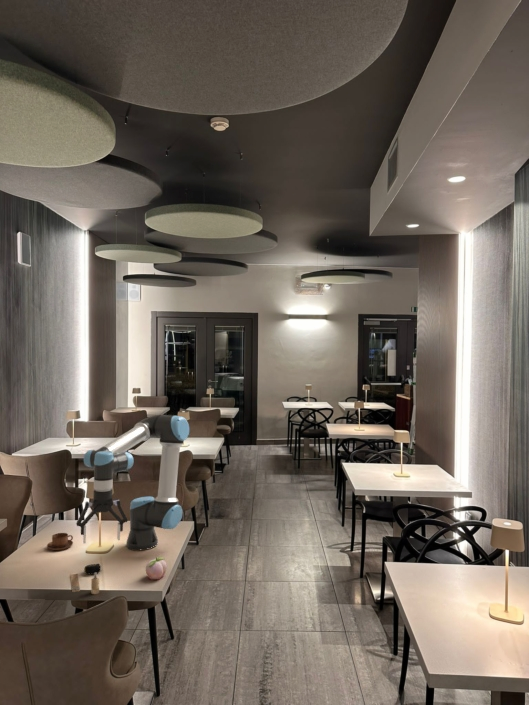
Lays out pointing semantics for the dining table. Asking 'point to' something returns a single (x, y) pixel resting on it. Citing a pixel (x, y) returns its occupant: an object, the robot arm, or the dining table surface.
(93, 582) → the beige bottle
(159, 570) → the decorative fruit
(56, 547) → the cup and saucer
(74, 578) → the joist strip
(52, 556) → the dining table surface
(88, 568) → the tape measure
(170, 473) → the robot arm
